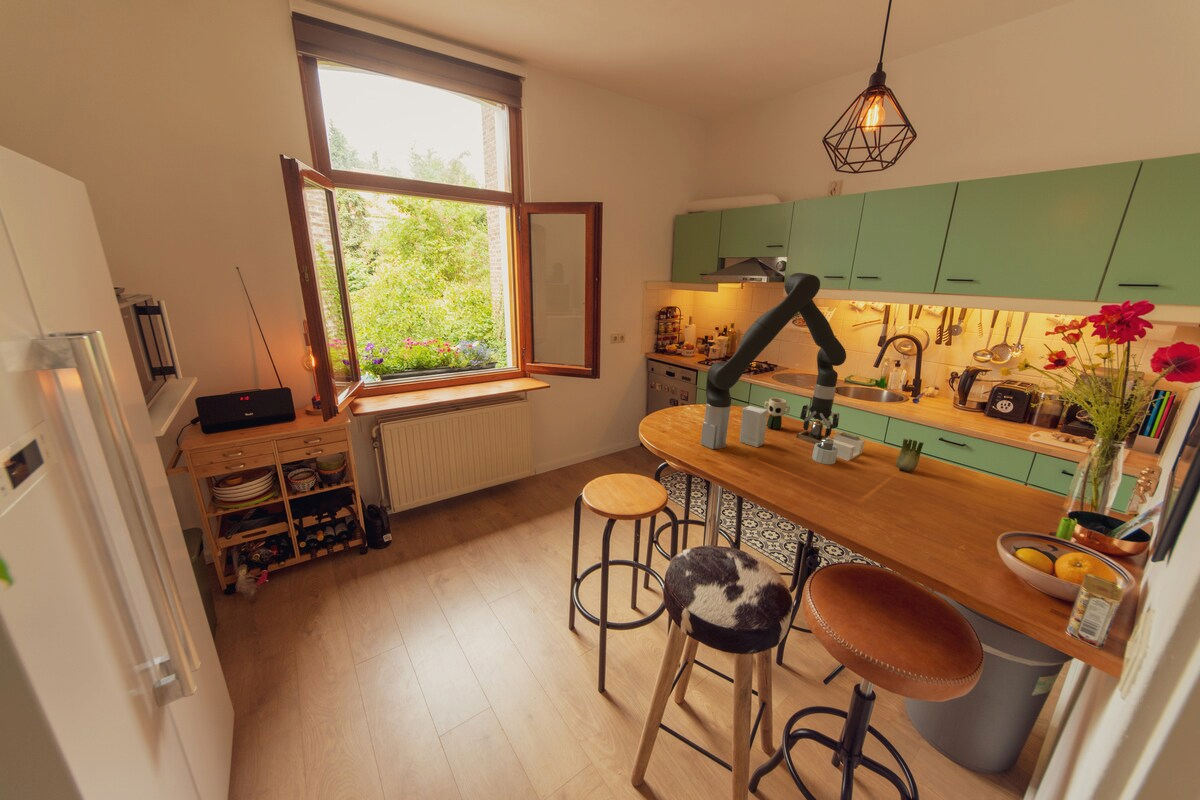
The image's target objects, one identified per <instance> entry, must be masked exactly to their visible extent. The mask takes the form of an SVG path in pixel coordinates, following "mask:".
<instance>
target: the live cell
mask: <svg viewBox="0 0 1200 800" xmlns="http://www.w3.org/2000/svg"><path fill="white" fill-rule="evenodd" d="M824 424H825V423H824V422H823V421H820V420H818V419H814V420H812V425H811V430H810V432H811V434H810V438H813V439H816V440H819V441H820V439H821V435H823V429H824Z"/></svg>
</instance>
